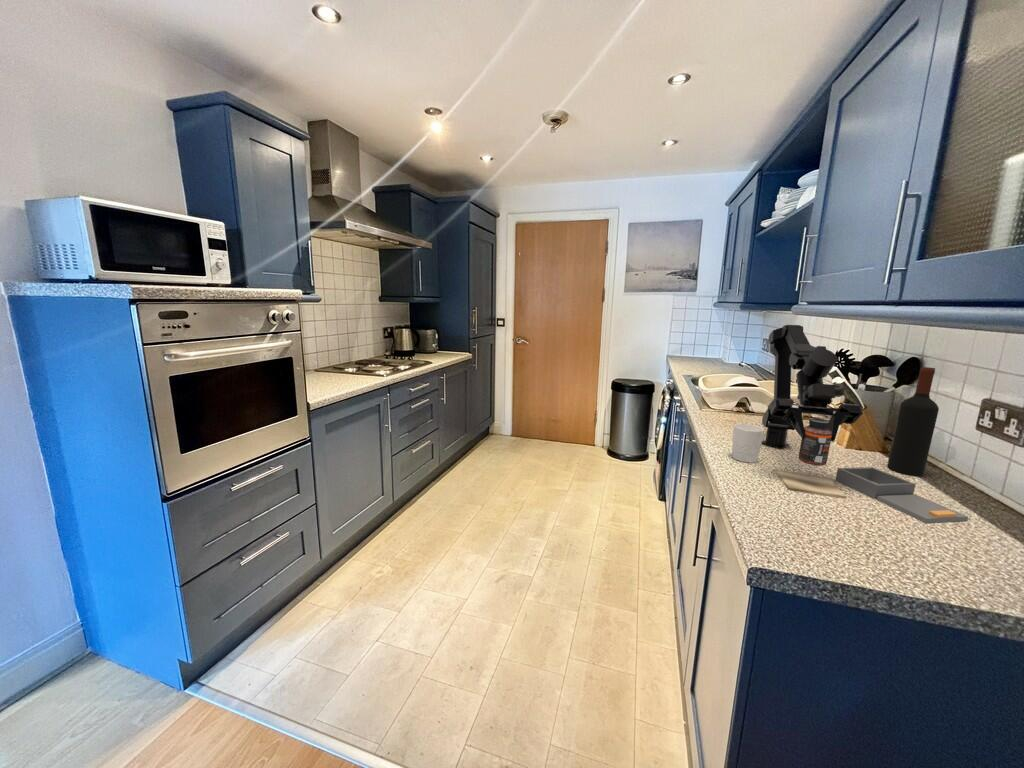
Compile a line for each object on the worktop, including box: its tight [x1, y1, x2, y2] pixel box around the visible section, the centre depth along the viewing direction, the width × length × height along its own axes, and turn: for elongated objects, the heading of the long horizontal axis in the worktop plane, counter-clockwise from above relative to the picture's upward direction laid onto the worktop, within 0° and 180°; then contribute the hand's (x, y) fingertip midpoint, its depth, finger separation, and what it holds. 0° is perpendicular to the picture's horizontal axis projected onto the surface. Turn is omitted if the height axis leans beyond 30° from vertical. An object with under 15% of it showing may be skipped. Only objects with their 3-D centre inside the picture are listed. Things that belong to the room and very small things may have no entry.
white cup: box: [731, 423, 765, 464], centre depth 121 cm, size 8×8×10 cm
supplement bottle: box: [798, 417, 832, 467], centre depth 103 cm, size 6×6×11 cm
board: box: [775, 469, 847, 499], centre depth 105 cm, size 12×12×1 cm
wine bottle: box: [886, 366, 940, 477], centre depth 113 cm, size 8×8×30 cm
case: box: [835, 466, 969, 524], centre depth 98 cm, size 22×11×4 cm, turn 7°
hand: (818, 439), depth 102 cm, fingers closed on supplement bottle, 6 cm apart
